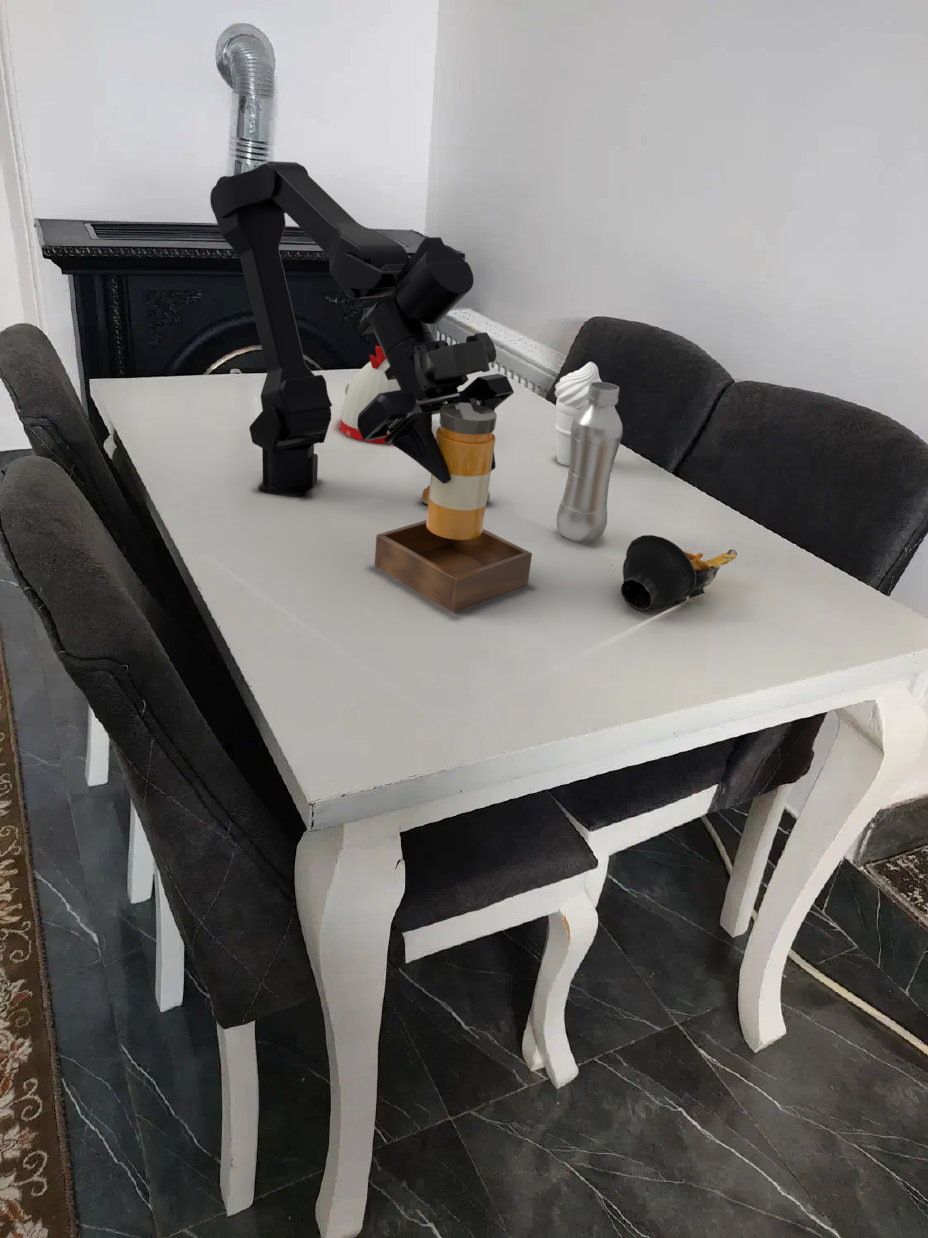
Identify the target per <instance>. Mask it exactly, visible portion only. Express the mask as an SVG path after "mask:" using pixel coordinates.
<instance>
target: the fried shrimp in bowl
mask: <svg viewBox="0 0 928 1238" xmlns="http://www.w3.org/2000/svg"><path fill="white" fill-rule="evenodd" d="M703 557H704V553H703V552H698V553H697V554H694V553H691V552H688V551H684V550H683V549H682V548H681V547H680V546H678V545H677V544H676V543H674V542H673V541H671V540H669V539H667V538H664V537H663V536H658V535H654V534H646V535H641V536H638V537H636V538H635V539H633V540H632V541H631V542H630V543H629V545H628V547H627V549H626V553H625V558H624V561H623V565H622V578H623V583H622V584H621V589H620V593H621V595H622V597H623V599H624V601H625V602H626V603H627V604H628V605H629V606H630V607H632V608H634V609H635V610H638V611H642V612H644V611H648V610H649V609H650V608H654V609H657V608H658V609H661V608H664V607H668V606H670V605H671V604H673V603H675V602H677V603H685V602H687V601H689V600H693V599H696V598H700V597H702V596H704V595H706V591H705V589H704V588H705V587H708V586H709V585H711V584H712V582H714V580H715V578H716V575H717V574H718V572H719V570H720V566H724V565H727V564H729V562H731V561H733V560H735V559H737V557H738V552H737V551H736V550H735V549H728V551H726V552H725V553H721V554H719V555H717V556H715V557H713V558H710V559H707V560H702V559H701V558H703ZM648 593H649V595H650V604H649V606H647V605H644V604H642V603H640V602H639V601H637V598H638V597H641V596H643V595H646V594H648Z"/></svg>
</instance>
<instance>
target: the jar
mask: <svg viewBox="0 0 928 1238" xmlns="http://www.w3.org/2000/svg"><path fill="white" fill-rule="evenodd" d="M497 417H498V415H497V413H496V412H495V410H494V411H493V410H491V409H489V408H487V407H484V406H481V405H476V404H471V403H449V404H445V405H443V406H442V407H441V408H440V413H439V418H438V423H439V425H440V426H439V427H438V428H436V430H435V436H434V437H435V439H436V442H437V444H438V446H439V448H440V451H441V453H442V455H443V458H444V460H445V462H446V465H447V467H448V470H449V473H450V476H451V480H450V481H449V482H448V483H445V484H443V483H442V482H441V481H439V480H438V479H437V478H436V477H435V476H433V475H432V474H431V473H430V481H429V482H430V483H429V486H430V490H429V501H428V504H427V511H426V527H427V529H428V530H429V531H430V532H432V533H433V534H435V535H437V536H440V537H443V538H447V539H453V540H468V539H473V538H476V537H478V536H480V535H481V533H482V530H483V529H484V522H485V515H486V509H487V503H488V502H487V496H488V489H489V490H490V481H491V475H492V471H491V467H492V460H493V453H494V454H495V445H496V438H497V437H496V436H495V434H494V433H493V432H494V431H495V430H496V424H497Z"/></svg>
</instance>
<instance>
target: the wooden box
mask: <svg viewBox="0 0 928 1238" xmlns="http://www.w3.org/2000/svg"><path fill="white" fill-rule="evenodd" d="M426 520H427V519H426ZM426 520H422V521H419V522H415V523H412V524H408V525H405V526H401V527H397V528H395V529H391V530H388V531H385V532H381V533H377V534H376V536H375V553H374V554H375V555H374V567H375V568H376V569H378V570H380V571H381V572H383V573H385V574H386V575H388V576H390V577H391V578H393V579H395V580H397V581H398V582H399V583H402V584H403V585H405V586H406V587H408V588H410V589H412V590H413V591H415V592H417V593H419V594H420V595H422V596H423V597H425V598H427V599H428V600H431V601H432V602H433V603H435V604H437V605H439V606H441V608H444V609H445V610H447V611H449V612H450V613H452V614H456V613H459V612H461V611H464V610H467V609H469V608H472V607H474V606H477V605H479V604H482V603H484V602H487V601H489V600H492V599H495V598H498V597H500V596H503V595H505V594H507V593H511V592H513V591H516V590H518V589H520V588H523V587H525V586H528V584H529V577H530V571H531V563H532V557H533V552H530V551H528V550H527V549H524V548H522V547H521V546H519V545H516V544H515V543H513V542H510V541H509V540H507V539H504V538H502V537H500V536H498V535H497V534H495V533H493V532H490V531H489V530H486V529H485V528H483V530H482V533H481V535H480V536H478V537H476V538H473V539H468V540H453V539H447V538H443V537H440V536H437V535H435V534H433V533H432V532H430V531H429V530H428V529H427V527H426Z"/></svg>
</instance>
